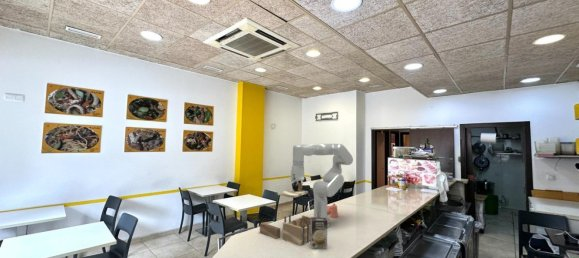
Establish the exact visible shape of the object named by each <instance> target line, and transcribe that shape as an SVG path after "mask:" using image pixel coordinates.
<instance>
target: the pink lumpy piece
mask: <svg viewBox="0 0 579 258" xmlns="http://www.w3.org/2000/svg"><path fill="white" fill-rule="evenodd" d="M327 215H330V218H331V217H332V218H338V217H339V213H338V206H337V205H336V203H333V204H332V205H327Z"/></svg>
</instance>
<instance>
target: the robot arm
mask: <svg viewBox="0 0 579 258" xmlns="http://www.w3.org/2000/svg"><path fill="white" fill-rule="evenodd" d="M309 156H310V157H312V156H332V166H331V168H329V170H328V171H327V172H326V173H325V174H324V176H323V177H322V181H321V180H316V181H315V182H314V183H313V185H312V192H313V217H322V218H326V219H327V221H328V224H327V228H329V227H330V223H329V221H330V220H331V217H328V214H327V206H328V197H329V198H332V197H333V196H335V194H337V192H338V191H339V190H340V189H341V188H342V186H343V185H344V183H345V182H344V181H345V177H344V176H343V174H342V173H343V169H342V165H344V166H350V165H352V164H353V161H354V158H353V155H352V154H351V152H350V151H349V150H348V149H347V147H346V146H345V145H344V144H343V143H314V144H299V145H298V144H297V145H296V144H295V145H293V146H292V166H291V170H290V180H291V183H292V185H293V189H294V191H297V192H298V183H302V185H303V183H304V180H305V165H304V164H305V157H309Z"/></svg>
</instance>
